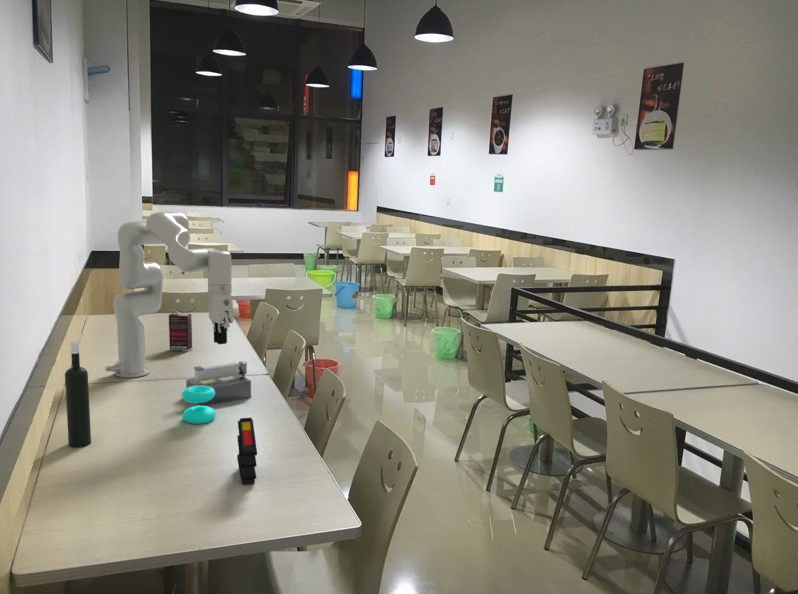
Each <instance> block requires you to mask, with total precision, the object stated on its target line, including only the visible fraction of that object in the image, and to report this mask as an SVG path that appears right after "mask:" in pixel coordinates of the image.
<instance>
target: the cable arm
mask: <svg viewBox="0 0 798 594" xmlns="http://www.w3.org/2000/svg"><path fill="white" fill-rule="evenodd" d="M247 365H248V363H247V361H239V362H231V363H230V362H229V363H225V364H218V365H212V366H211V365H210V366H206V367H205V366H204V367H202V366H200V365H199V366H194V367H193V369H194V378H195V381H197V382H201V381H207V380H213V379H219V378H225V377H231V376H237V375H239V374H241V375H244V374H245V375H246V374H248V373H247V372H248V371H247V369H248V368H247V367H248V366H247Z"/></svg>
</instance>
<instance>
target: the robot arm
mask: <svg viewBox="0 0 798 594" xmlns="http://www.w3.org/2000/svg"><path fill="white" fill-rule="evenodd" d="M189 227H190V223H189V220H188V217H187V216H186V215H185V214H184V213H182V212H180V211H163V212H162V211H159V212H154V213H152V214H150V215H149V216H148V218H147V219H146V221H145V220H142V221H129V222H126V223H123V224H122V225H120V227H119V228H118V231H117V242H118V248H119V265H118V266H119V269H118V272H119V273H118V283H119V285H120V286H121V288H122V289H125V290H129V291H125V292H122V293H119V294H117V295H116V296H115V297H114V298H113V303H112V306H113V310H114V316H115V319H116V329H117V330H116V331H117V333H116V334H117V353H118V354H117V356H118V357H117V358H118V361H116V362H115V364H113V365H105V366H104V367H105V369H104V370H105V372H114V375H115V376H116V377H119V378H127V379H128V378H129V379H130V378H140V377H144V376H147V375H148V374H150V373H151V368H150V367H148V366H147V365H146V343H145V342H146V341H145V340H146V337H145V326H144V324H143V322H142V321H141V320H140V319H139V317H140V316H141V317H142V316H145V315H151V314H156V313H157V312H159V310H160V309H161V306H162V299H163V285H164V284H163V283H164V276H163V271H162V268H161V266H160V265H159V264H158V263H156V262H152V261H146V262H145V258H146V255H145V250H144V248H143V247H142V246H144V245H145V246H146V245H147V246H148V245H149V246H150V245H161V244H164V245H165V246H166V247H167V255H168V256H169V259H170V261H171V263H172V264H174V265H175V266H176V267H177V268H178V269H180V270H181V271H183V272H185V273H198V272H207V294H208V318H209V320H210V321H211V322H212V326H213V327H212V330H213V342H214V343H217V345H226V344H227V343H228V330H229V329H230V328H231V326H230V324H233V323H234V305H233V304H234V302H233V297H232V291H233V290H232V254H231V252H230V251H226V250H219V249H217V248H213V247H206V248H201V247H200V248H191V249H188V248H187V246H188V244H189V243H190V240H191V234H190V232H189ZM136 289H138V290H136ZM139 289H141V290H139ZM130 290H132V291H130Z"/></svg>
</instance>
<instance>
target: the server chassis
mask: <svg viewBox="0 0 798 594" xmlns="http://www.w3.org/2000/svg"><path fill="white" fill-rule="evenodd" d="M185 380H186V381H185V383H186V384H185V389H186V388H188V387H192V386H200V385H203V386H209V387H212V388H213V389H214V390H215V396H214V397H213V398H212V399H211V400H209V401H207V402H203V403H196V405H197V406H199V405H200V406H207V405H209V406H213V405H212V404H214V405H218V404H217V403H219V404H224V403H227V402H228V403H229V402H233V401H234V400H235V401H239V400H238V399H240V400H244V399H243V398H245V399H249V398H252V380H250V379H249V378H247V377H246V374H244V375H241V374H239V375H237V376H231V377H225V378H219V379H213V380H207V381H201V382H197V381H195V377H194V378H193V377H192V378H189V379H185ZM223 402H224V403H223Z"/></svg>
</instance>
